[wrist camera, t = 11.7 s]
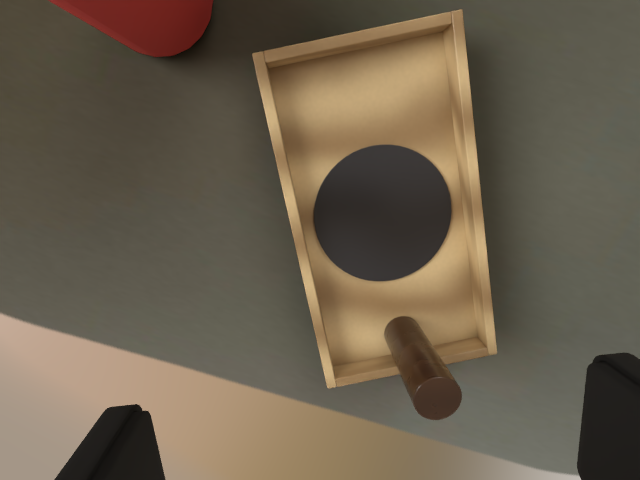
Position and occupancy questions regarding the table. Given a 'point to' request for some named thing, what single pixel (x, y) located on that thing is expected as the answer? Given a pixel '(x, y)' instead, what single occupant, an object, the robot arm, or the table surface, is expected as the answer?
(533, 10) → the table surface
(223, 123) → the table surface
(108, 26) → the beer can
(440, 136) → the tray
